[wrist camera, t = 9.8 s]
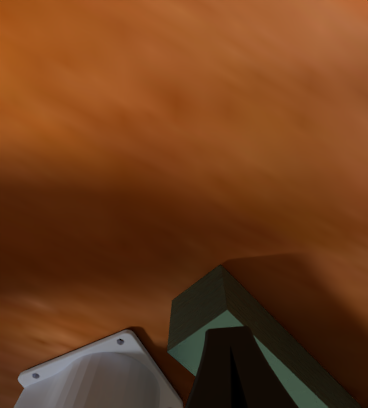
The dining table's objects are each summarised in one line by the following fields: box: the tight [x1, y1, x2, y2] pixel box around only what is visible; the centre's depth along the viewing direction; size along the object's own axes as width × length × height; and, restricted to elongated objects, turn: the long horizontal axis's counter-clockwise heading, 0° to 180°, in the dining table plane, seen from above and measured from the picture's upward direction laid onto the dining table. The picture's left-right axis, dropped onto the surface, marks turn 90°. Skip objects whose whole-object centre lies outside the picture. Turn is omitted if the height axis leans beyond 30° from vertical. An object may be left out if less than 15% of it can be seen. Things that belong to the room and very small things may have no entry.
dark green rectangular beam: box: [167, 264, 361, 408], centre depth 20 cm, size 16×4×5 cm, turn 42°
